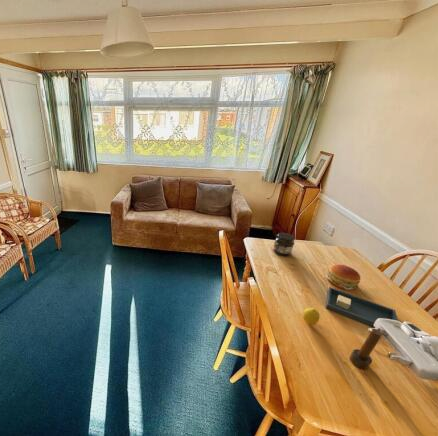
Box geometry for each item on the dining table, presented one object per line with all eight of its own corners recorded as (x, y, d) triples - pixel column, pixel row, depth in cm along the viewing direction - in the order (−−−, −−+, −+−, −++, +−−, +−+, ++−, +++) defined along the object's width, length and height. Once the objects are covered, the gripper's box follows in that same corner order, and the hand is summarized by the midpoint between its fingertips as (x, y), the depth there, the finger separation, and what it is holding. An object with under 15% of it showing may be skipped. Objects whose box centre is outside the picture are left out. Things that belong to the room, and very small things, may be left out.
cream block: (348, 304, 107) (351, 299, 106) (347, 309, 104) (350, 305, 103) (336, 299, 110) (338, 294, 108) (335, 304, 107) (337, 300, 105)
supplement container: (276, 246, 154) (281, 230, 149) (293, 252, 147) (298, 236, 142) (269, 251, 148) (273, 235, 143) (286, 258, 141) (292, 242, 136)
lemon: (300, 315, 102) (305, 302, 98) (315, 321, 99) (321, 307, 96) (300, 324, 98) (306, 311, 94) (316, 330, 95) (322, 316, 92)
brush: (366, 359, 84) (385, 329, 77) (369, 372, 80) (390, 341, 73) (348, 352, 86) (365, 323, 79) (350, 364, 82) (369, 334, 75)
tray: (392, 315, 102) (395, 310, 101) (396, 338, 92) (400, 332, 90) (327, 291, 115) (329, 286, 114) (325, 309, 105) (327, 304, 104)
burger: (329, 288, 117) (336, 273, 113) (320, 272, 129) (326, 258, 124) (361, 294, 113) (369, 279, 109) (349, 277, 125) (356, 262, 120)
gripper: (452, 388, 69) (399, 380, 71) (397, 329, 87) (356, 324, 89) (464, 375, 66) (409, 367, 68) (405, 318, 84) (363, 313, 86)
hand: (379, 342), depth 79 cm, fingers open, 8 cm apart
